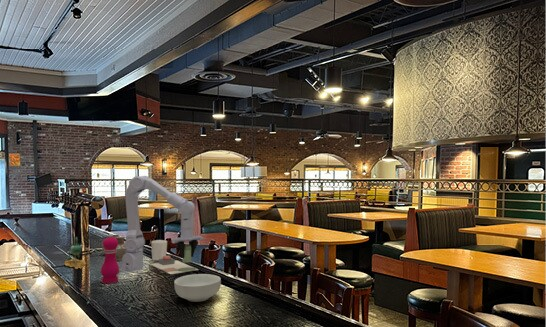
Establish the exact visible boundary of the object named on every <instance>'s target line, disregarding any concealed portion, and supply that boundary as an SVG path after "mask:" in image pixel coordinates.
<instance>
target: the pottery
mask: <svg viewBox="0 0 546 327" xmlns="http://www.w3.org/2000/svg"><path fill="white" fill-rule="evenodd" d="M113 237H114V238H116V239H117V240H118V246H117V247H116V249H117V252H116V261H117V262H122V257H123V255H124V254H126V252H127V250H126V249H125V245H124V244H125V240H126V236H121V235H119V234H113ZM106 238H109V236H108V235H107V236H106ZM101 245H102V246H101V247H102V249H103V250H104V249H105V248H104V247H103V243H102V244H101Z"/></svg>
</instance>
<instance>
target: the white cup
mask: <svg viewBox="0 0 546 327" xmlns="http://www.w3.org/2000/svg"><path fill="white" fill-rule="evenodd" d="M150 245H151V257H152V258H151V259H152V261H159V259H163V256H167V252H168V250H167V249H168V241H167V240H166V239H164V240H163V239H156V240H152V241H151V244H150Z"/></svg>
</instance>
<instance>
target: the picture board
mask: <svg viewBox="0 0 546 327" xmlns="http://www.w3.org/2000/svg"><path fill="white" fill-rule="evenodd" d="M150 265H151V266H153V267H155V268H157V269H159V270H161V271H163V272H166V273H167V274H170V275H175V274H181V273H187V272H189V273H190V272H193V271H194V272H195V271H199V269H198V268H196V267H193V266H190V265H188V263H187V264H186V263H185V262H181V261H180V260H177V259H176V260H175V259H174V258H172V257H170V260H165V261H164V260H163V259H159V260H158V262H154V263H150Z"/></svg>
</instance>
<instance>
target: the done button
mask: <svg viewBox="0 0 546 327" xmlns="http://www.w3.org/2000/svg"><path fill="white" fill-rule="evenodd" d="M170 258H171V255H166V256H163V260H164V261H165V260H170Z"/></svg>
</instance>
